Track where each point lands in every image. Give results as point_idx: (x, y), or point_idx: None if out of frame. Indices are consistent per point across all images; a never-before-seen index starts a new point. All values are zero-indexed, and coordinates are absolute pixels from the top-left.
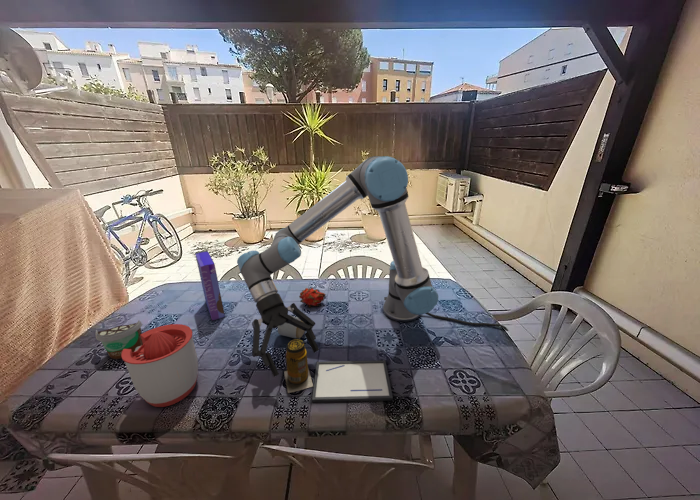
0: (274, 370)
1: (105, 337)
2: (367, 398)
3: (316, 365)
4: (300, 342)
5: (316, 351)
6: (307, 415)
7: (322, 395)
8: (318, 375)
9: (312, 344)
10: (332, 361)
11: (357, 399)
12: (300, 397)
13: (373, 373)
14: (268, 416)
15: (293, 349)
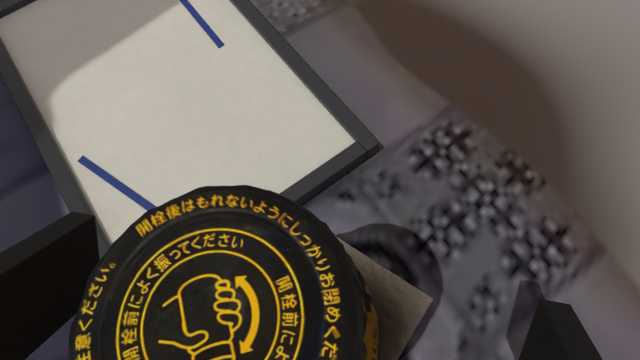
0: (591, 344)
1: None
2: None
3: None
4: (128, 296)
5: (95, 235)
6: (445, 122)
7: (321, 126)
8: None
9: (35, 289)
10: None
11: (249, 1)
12: (397, 221)
13: (76, 24)
14: (604, 276)
15: (314, 260)
